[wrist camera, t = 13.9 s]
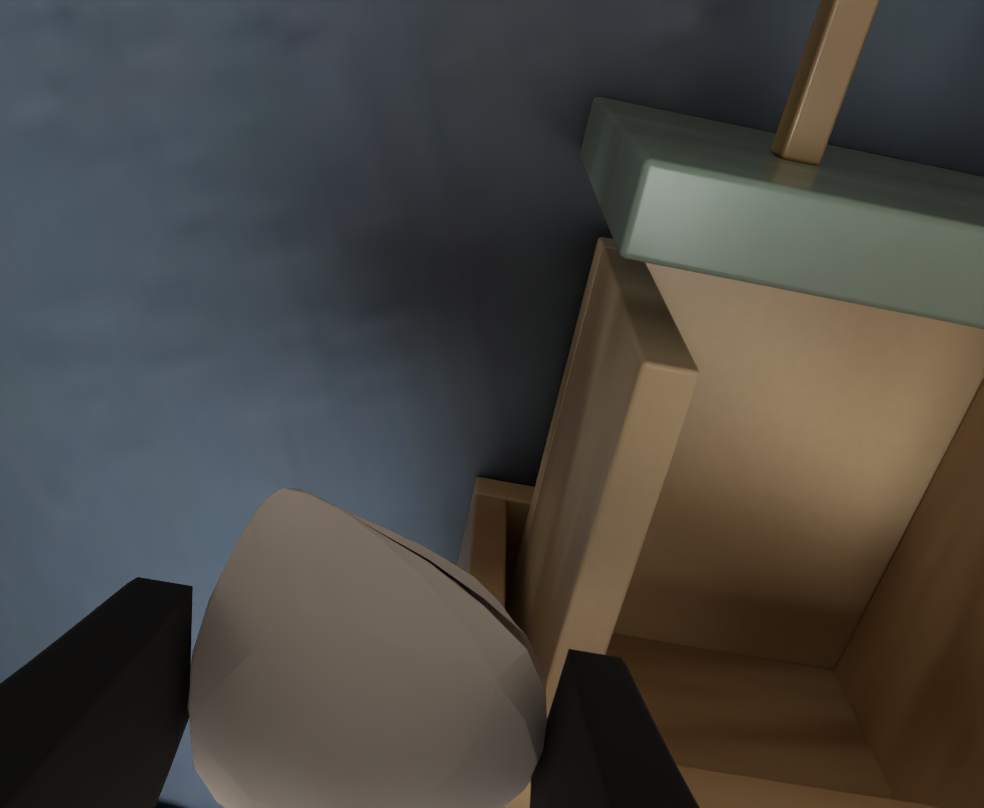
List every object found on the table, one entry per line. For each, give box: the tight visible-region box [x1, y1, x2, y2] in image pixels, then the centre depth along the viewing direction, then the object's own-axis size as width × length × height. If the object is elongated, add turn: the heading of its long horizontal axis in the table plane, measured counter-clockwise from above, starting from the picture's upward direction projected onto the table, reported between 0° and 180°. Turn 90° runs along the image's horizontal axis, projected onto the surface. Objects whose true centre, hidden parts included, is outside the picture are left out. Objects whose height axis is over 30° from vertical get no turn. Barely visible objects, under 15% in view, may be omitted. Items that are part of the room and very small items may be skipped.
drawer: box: [505, 0, 984, 808], centre depth 14 cm, size 18×10×7 cm, turn 169°
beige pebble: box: [187, 488, 547, 808], centre depth 9 cm, size 4×5×2 cm
